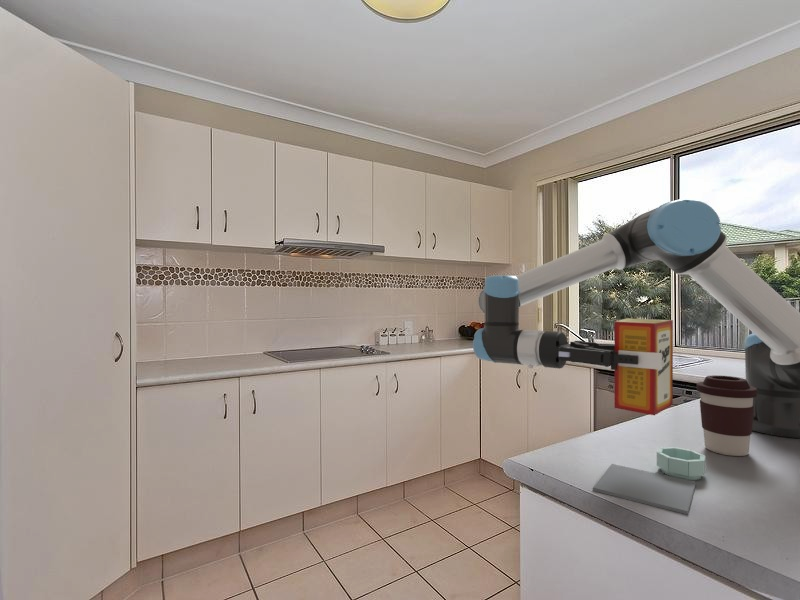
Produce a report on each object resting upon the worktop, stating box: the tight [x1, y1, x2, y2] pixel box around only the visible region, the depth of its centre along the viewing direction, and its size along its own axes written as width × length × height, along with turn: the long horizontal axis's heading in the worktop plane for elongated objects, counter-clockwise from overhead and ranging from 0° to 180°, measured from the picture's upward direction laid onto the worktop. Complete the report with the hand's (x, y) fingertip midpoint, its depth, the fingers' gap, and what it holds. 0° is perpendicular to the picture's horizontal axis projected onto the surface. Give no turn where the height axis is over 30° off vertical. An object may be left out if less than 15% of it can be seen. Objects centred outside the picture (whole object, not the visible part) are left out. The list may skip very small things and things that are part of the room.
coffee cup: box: [696, 374, 757, 457], centre depth 89 cm, size 10×10×15 cm
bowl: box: [656, 446, 707, 481], centre depth 77 cm, size 7×7×4 cm
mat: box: [592, 463, 697, 515], centre depth 72 cm, size 13×13×1 cm
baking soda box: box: [614, 317, 674, 416], centre depth 79 cm, size 10×6×16 cm
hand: (667, 358), depth 76 cm, fingers closed on baking soda box, 10 cm apart
